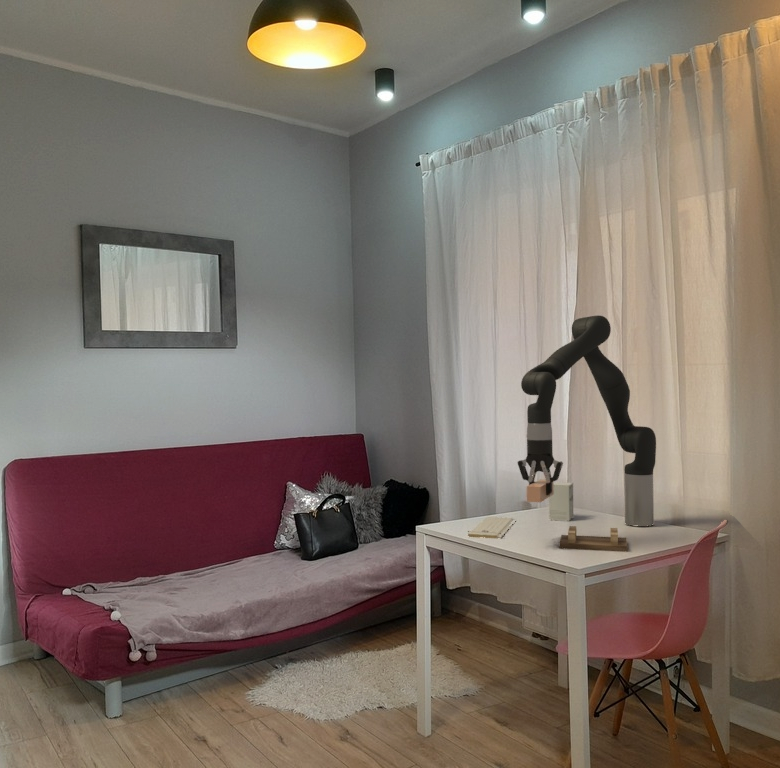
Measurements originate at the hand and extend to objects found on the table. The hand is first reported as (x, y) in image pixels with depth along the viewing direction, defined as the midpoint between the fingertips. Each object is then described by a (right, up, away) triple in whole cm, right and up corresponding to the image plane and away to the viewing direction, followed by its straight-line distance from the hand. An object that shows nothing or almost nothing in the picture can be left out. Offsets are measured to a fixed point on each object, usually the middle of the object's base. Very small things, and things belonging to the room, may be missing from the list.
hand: (540, 494), depth 226 cm
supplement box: (+15, -15, +39) cm, 44 cm away
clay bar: (0, -1, 0) cm, 1 cm away
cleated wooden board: (+15, -15, -4) cm, 21 cm away
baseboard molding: (-10, -16, +23) cm, 30 cm away
